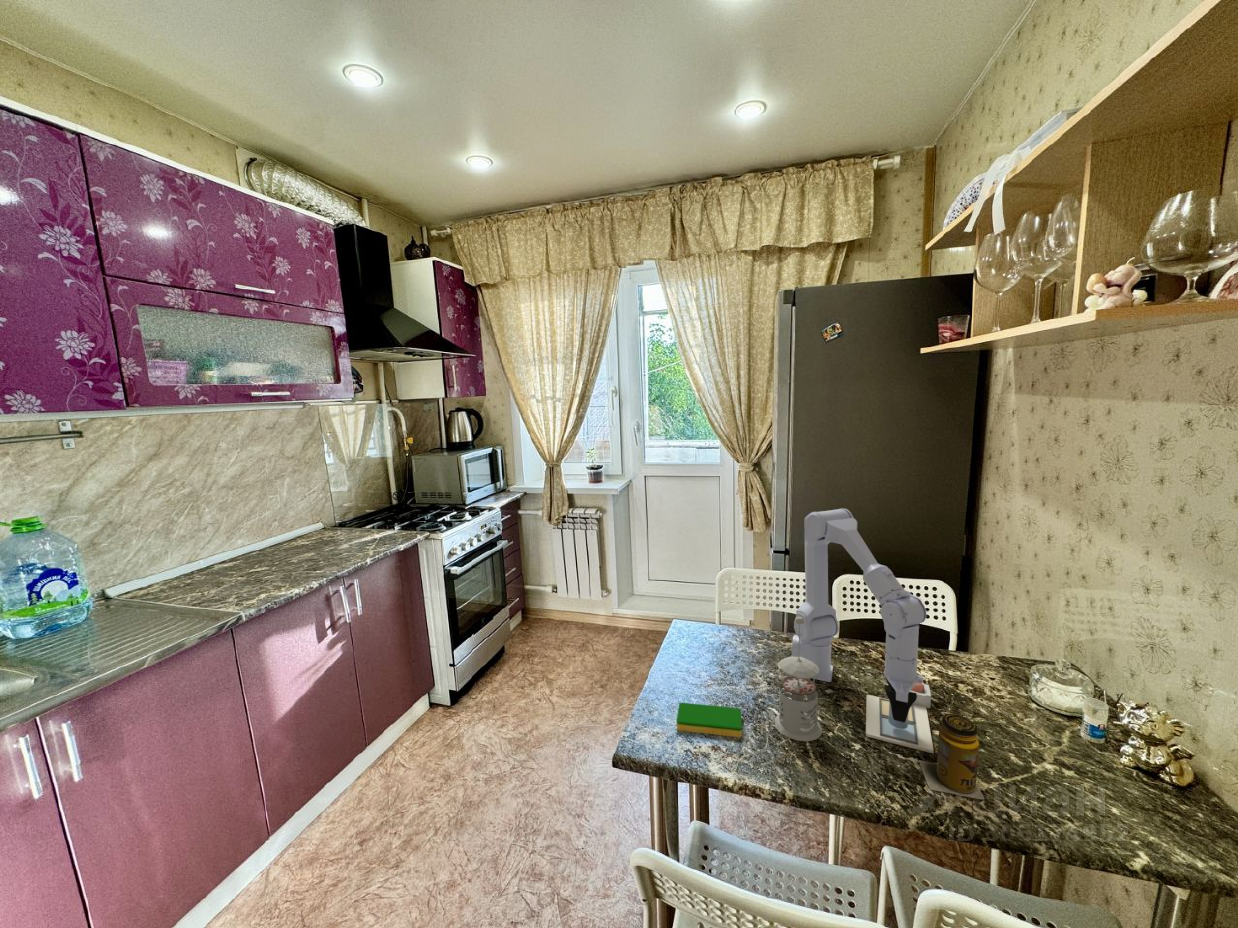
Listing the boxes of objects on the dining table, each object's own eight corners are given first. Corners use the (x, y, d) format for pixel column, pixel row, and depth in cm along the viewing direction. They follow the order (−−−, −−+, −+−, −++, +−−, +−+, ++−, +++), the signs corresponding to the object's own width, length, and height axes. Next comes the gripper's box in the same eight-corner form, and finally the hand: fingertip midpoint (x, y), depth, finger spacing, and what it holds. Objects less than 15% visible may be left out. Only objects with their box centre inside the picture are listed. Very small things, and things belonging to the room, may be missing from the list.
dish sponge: (741, 739, 103) (741, 728, 103) (676, 731, 106) (676, 721, 106) (740, 717, 110) (740, 707, 110) (679, 711, 113) (679, 701, 113)
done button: (907, 697, 113) (908, 685, 113) (907, 690, 116) (907, 678, 115) (922, 700, 112) (923, 688, 111) (921, 693, 114) (922, 681, 114)
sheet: (865, 736, 102) (866, 732, 102) (866, 696, 115) (866, 693, 115) (933, 753, 97) (933, 749, 97) (926, 710, 110) (926, 706, 110)
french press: (766, 727, 106) (767, 618, 103) (789, 702, 114) (790, 601, 111) (811, 748, 99) (813, 632, 96) (832, 719, 108) (834, 612, 104)
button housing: (901, 702, 113) (901, 690, 112) (899, 689, 118) (900, 677, 117) (930, 709, 110) (931, 697, 110) (928, 695, 115) (928, 683, 115)
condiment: (985, 800, 85) (989, 737, 84) (929, 790, 88) (933, 729, 86) (969, 770, 92) (973, 711, 91) (918, 761, 95) (921, 704, 93)
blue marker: (887, 725, 102) (889, 694, 101) (888, 715, 105) (889, 685, 104) (908, 730, 100) (909, 699, 99) (908, 720, 103) (909, 689, 102)
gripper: (927, 676, 92) (924, 741, 94) (920, 641, 105) (918, 699, 107) (885, 667, 96) (882, 731, 97) (883, 635, 108) (881, 692, 110)
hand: (898, 714), depth 102 cm, fingers closed on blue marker, 4 cm apart
